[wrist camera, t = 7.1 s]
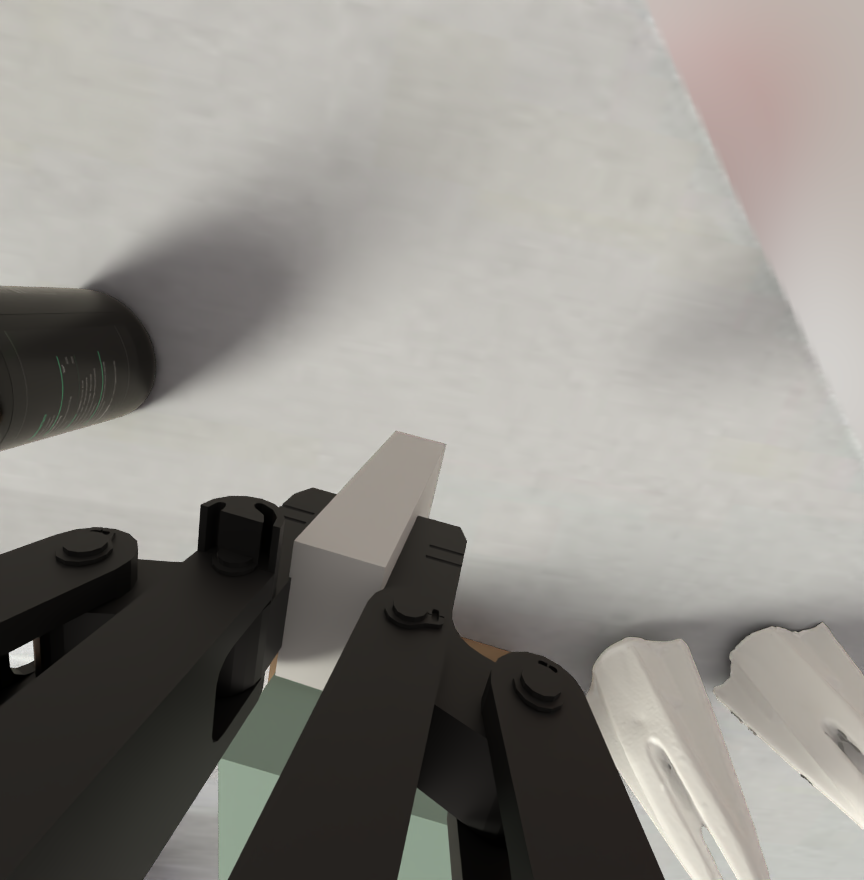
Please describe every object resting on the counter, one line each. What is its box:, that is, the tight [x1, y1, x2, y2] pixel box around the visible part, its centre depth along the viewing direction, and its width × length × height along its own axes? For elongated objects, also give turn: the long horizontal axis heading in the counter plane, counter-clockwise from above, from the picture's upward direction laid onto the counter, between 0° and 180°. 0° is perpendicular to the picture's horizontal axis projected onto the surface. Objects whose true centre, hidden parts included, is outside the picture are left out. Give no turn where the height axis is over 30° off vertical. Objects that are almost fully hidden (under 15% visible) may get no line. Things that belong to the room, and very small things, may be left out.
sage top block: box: [218, 672, 452, 880], centre depth 22 cm, size 10×10×5 cm
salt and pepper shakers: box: [586, 622, 864, 880], centre depth 19 cm, size 12×4×11 cm, turn 98°
